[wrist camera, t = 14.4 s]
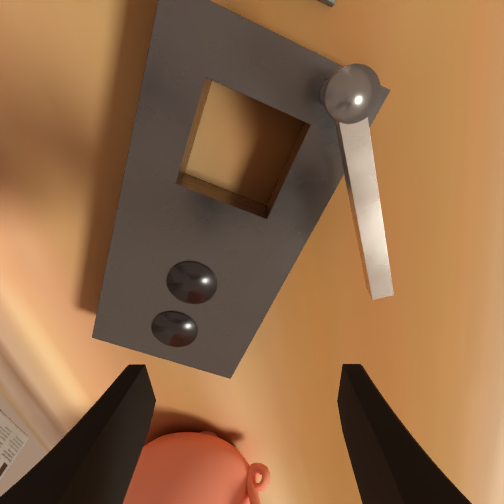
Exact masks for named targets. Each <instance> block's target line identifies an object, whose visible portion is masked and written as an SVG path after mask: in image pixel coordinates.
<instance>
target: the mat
mask: <svg viewBox="0 0 504 504" xmlns="http://www.w3.org/2000/svg"><path fill="white" fill-rule="evenodd" d="M319 1H321V2H323V3H324V4H326V5H328V6H330V7H332V6H333V5H334V4H335V2H336V0H319Z"/></svg>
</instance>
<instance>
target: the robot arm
mask: <svg viewBox="0 0 504 504" xmlns="http://www.w3.org/2000/svg"><path fill="white" fill-rule="evenodd" d="M155 402H156V399H155V396H154V392H153V389H152V386H151V382H150V379H149V376H148V372H147V369H146V366H145V365H128V366H127V367H126V368H125V369H124V371H123V372H122V373H121V374H120V375H119V376H118V378H117V379H116V380H115V381H114V382H113V383H112V385H111V386H110V387H109V388H108V389H107V390H106V392H105V393H104V394H103V395H102V396H101V397H100V399H99V400H98V401H97V402H96V403H95V404H94V405H93V406H92V407H91V409H90V410H89V411H88V412H87V413H86V414H85V415H84V416H83V417H82V419H81V420H80V421H79V422H78V423H77V424H76V425H75V426H74V427H73V428H72V429H71V430H70V431H69V432H68V433H67V434H66V435H65V437H64V438H63V439H62V440H61V441H60V442H59V443H58V444H57V445H56V446H55V447H54V448H53V449H52V450H51V451H50V452H49V453H48V454H47V455H46V456H45V457H44V458H43V459H42V460H41V461H40V462H39V463H38V464H36V465H35V466H34V467H33V468H32V469H31V470H30V471H29V472H28V473H27V474H26V475H25V476H23V477H22V478H21V479H20V480H19V481H18V482H17V483H16V484H15V485H13V486H12V487H11V488H10V489H9V490H8V491H7V492H5V494H3V495H2V496H1V497H0V504H123V501H124V499H125V496H126V493H127V490H128V487H129V485H130V482H131V479H132V476H133V473H134V471H135V468H136V465H137V462H138V460H139V457H140V454H141V451H142V448H143V445H144V443H145V440H146V437H147V434H148V431H149V427H150V423H151V419H152V415H153V411H154V406H155ZM337 402H338V408H339V414H340V420H341V425H342V431H343V435H344V438H345V442H346V446H347V449H348V453H349V457H350V460H351V464H352V467H353V471H354V475H355V478H356V482H357V485H358V489H359V492H360V496H361V500H362V503H363V504H472V503H471V502H470V501H469V500H468V499H467V498H466V497H465V496H464V495H463V494H462V493H461V492H460V491H459V490H458V489H457V488H456V487H455V485H454V484H453V483H452V482H451V481H450V480H449V479H448V478H447V477H446V476H445V474H444V473H443V472H442V471H441V470H440V469H439V468H438V467H437V465H436V464H435V463H434V462H433V461H432V460H431V458H430V457H429V456H428V455H427V454H426V452H425V451H424V450H423V449H422V448H421V446H420V445H419V444H418V443H417V441H416V440H415V439H414V438H413V437H412V435H411V434H410V433H409V431H408V430H407V429H406V428H405V426H404V425H403V424H402V422H401V421H400V420H399V418H398V417H397V416H396V414H395V413H394V412H393V410H392V409H391V408H390V406H389V405H388V403H387V402H386V401H385V399H384V398H383V396H382V395H381V393H380V392H379V391H378V389H377V388H376V386H375V385H374V383H373V382H372V380H371V379H370V377H369V376H368V374H367V372H366V371H365V369H364V368H363V366H362V365H361V364H343V366H342V373H341V380H340V387H339V393H338V400H337Z"/></svg>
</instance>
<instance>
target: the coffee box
mask: <svg viewBox="0 0 504 504" xmlns="http://www.w3.org/2000/svg"><path fill="white" fill-rule="evenodd" d="M28 438H29V437H28V436H27V435H26V434H25V433H24V432H23V431H22V430H20V428H19V427H18V426H16V425H15V424H14V423H13V422H12V421H11V420H10V419H9V418H8V417H7V416H6V415H5V414H4V413H3V412H2V411H1V410H0V481H1V479H2V477H3V476H4V475H5V473H6V472H7V470H8V469H9V467H10V466H11V464H12V462H13V461H14V460H15V458H16V457H17V455H18V454H19V452H20V451H21V449H22V448H23V446H24V445H25V444H26V442H27V441H28Z"/></svg>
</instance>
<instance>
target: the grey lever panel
mask: <svg viewBox="0 0 504 504" xmlns="http://www.w3.org/2000/svg"><path fill="white" fill-rule="evenodd" d="M342 67H343V66H341V65H339V64H337V63H335V62H333V61H331V60H329V59H327V58H325V57H323V56H321V55H319V54H317V53H314V52H312V51H310V50H308V49H306V48H304V47H302V46H300V45H298V44H296V43H294V42H292V41H290V40H288V39H286V38H284V37H282V36H280V35H278V34H276V33H274V32H272V31H270V30H268V29H266V28H264V27H262V26H260V25H258V24H256V23H254V22H252V21H250V20H248V19H246V18H244V17H242V16H240V15H238V14H236V13H234V12H232V11H230V10H228V9H226V8H224V7H222V6H220V5H218V4H216V3H213V2H211V1H209V0H158V5H157V10H156V15H155V20H154V25H153V30H152V35H151V40H150V46H149V51H148V56H147V61H146V66H145V71H144V76H143V81H142V86H141V91H140V96H139V101H138V106H137V111H136V116H135V122H134V127H133V132H132V137H131V142H130V147H129V152H128V157H127V162H126V167H125V172H124V177H123V182H122V187H121V193H120V198H119V203H118V208H117V213H116V218H115V223H114V228H113V233H112V238H111V243H110V248H109V253H108V258H107V263H106V269H105V274H104V279H103V284H102V289H101V294H100V299H99V304H98V309H97V314H96V319H95V324H94V329H93V334H92V338H95V339H98V340H102V341H105V342H109V343H112V344H115V345H119V346H122V347H125V348H129V349H132V350H135V351H139V352H142V353H146V354H149V355H152V356H156V357H159V358H162V359H166V360H169V361H173V362H176V363H179V364H183V365H186V366H189V367H193V368H196V369H199V370H203V371H206V372H210V373H213V374H216V375H220V376H223V377H226V378H230V379H231V377H232V375H233V373H234V371H235V370H236V368H237V366H238V364H239V362H240V361H241V359H242V357H243V355H244V353H245V352H246V350H247V348H248V346H249V344H250V342H251V341H252V339H253V337H254V335H255V333H256V332H257V330H258V328H259V326H260V324H261V323H262V321H263V319H264V317H265V315H266V314H267V312H268V310H269V308H270V306H271V305H272V303H273V301H274V299H275V297H276V296H277V294H278V292H279V290H280V288H281V287H282V285H283V283H284V281H285V279H286V278H287V276H288V274H289V272H290V270H291V269H292V267H293V265H294V263H295V261H296V260H297V258H298V256H299V254H300V252H301V250H302V249H303V247H304V245H305V243H306V241H307V240H308V238H309V236H310V234H311V232H312V231H313V229H314V227H315V225H316V223H317V222H318V220H319V218H320V216H321V214H322V213H323V211H324V209H325V207H326V205H327V204H328V202H329V200H330V198H331V196H332V195H333V193H334V191H335V189H336V187H337V186H338V184H339V182H340V180H341V178H342V177H343V175H344V170H343V165H342V159H341V154H340V149H339V144H338V139H337V134H336V129H335V124H334V119H333V118H331V117H330V116H329V115H328V113H327V112H326V110H325V108H324V105H323V103H322V102H321V100H320V89H321V87H322V85H323V83H324V82H325V81H326V80H327V79H329V78H330V76H331V75H332V74H333V73H334V72H335V71H337V70H338V69H340V68H342ZM212 80H213V81H216V82H218V83H220V84H222V85H224V86H227V87H229V88H231V89H233V90H235V91H238V92H240V93H242V94H244V95H247V96H249V97H251V98H253V99H255V100H258V101H260V102H262V103H264V104H266V105H269V106H271V107H273V108H275V109H277V110H280V111H282V112H284V113H286V114H288V115H291V116H293V117H295V118H297V119H299V120H302V121H304V125H303V127H302V129H301V131H300V133H299V136H298V138H297V140H296V142H295V144H294V147H293V149H292V151H291V153H290V155H289V158H288V160H287V162H286V164H285V167H284V169H283V171H282V173H281V175H280V178H279V180H278V182H277V184H276V186H275V189H274V191H273V193H272V195H271V197H270V200H269V202H268V204H267V206H265V205H263V204H260V203H258V202H255V201H253V200H250V199H248V198H245V197H243V196H240V195H238V194H235V193H233V192H230V191H228V190H225V189H223V188H220V187H217V186H215V185H212V184H210V183H207V182H205V181H202V180H200V179H197V178H195V177H192V176H190V175H187V174H185V170H186V166H187V163H188V160H189V156H190V153H191V149H192V146H193V143H194V139H195V136H196V132H197V129H198V126H199V122H200V119H201V115H202V112H203V109H204V105H205V102H206V99H207V95H208V92H209V88H210V85H211V82H212ZM389 92H390V90H389V89H387V88H385V87H383V86H381V85H380V97H379V101H378V103H377V105H376V107H375V109H374V110H373V112H372V113H371V114H370V115H369V116H368V123H369V128H370V126H371V124H372V122H373V121H374V119H375V117H376V115H377V113H378V112H379V110H380V108H381V106H382V104H383V103H384V101H385V99H386V97H387V95H388V94H389Z"/></svg>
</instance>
